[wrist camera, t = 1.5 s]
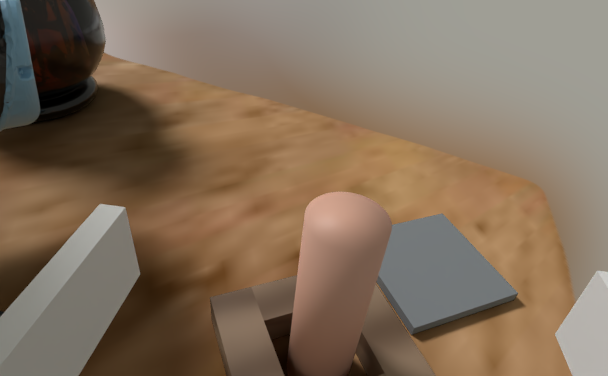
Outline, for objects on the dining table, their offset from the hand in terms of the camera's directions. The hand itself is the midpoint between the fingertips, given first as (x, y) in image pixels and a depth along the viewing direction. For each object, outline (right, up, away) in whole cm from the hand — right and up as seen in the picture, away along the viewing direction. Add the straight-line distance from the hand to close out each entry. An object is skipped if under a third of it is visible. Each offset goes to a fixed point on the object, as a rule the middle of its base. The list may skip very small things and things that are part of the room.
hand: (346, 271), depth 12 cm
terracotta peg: (0, -12, +22) cm, 25 cm away
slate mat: (+11, -6, +31) cm, 34 cm away
